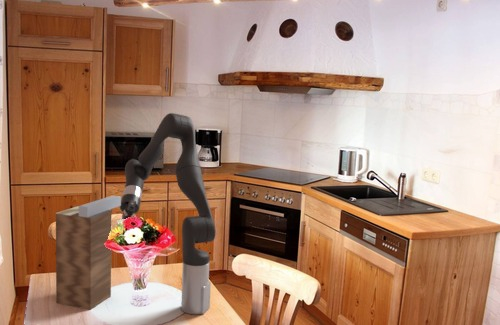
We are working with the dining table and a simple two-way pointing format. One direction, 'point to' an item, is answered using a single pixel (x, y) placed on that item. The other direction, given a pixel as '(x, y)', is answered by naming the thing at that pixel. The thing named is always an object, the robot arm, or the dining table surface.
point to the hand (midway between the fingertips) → (124, 232)
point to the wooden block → (82, 258)
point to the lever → (99, 206)
